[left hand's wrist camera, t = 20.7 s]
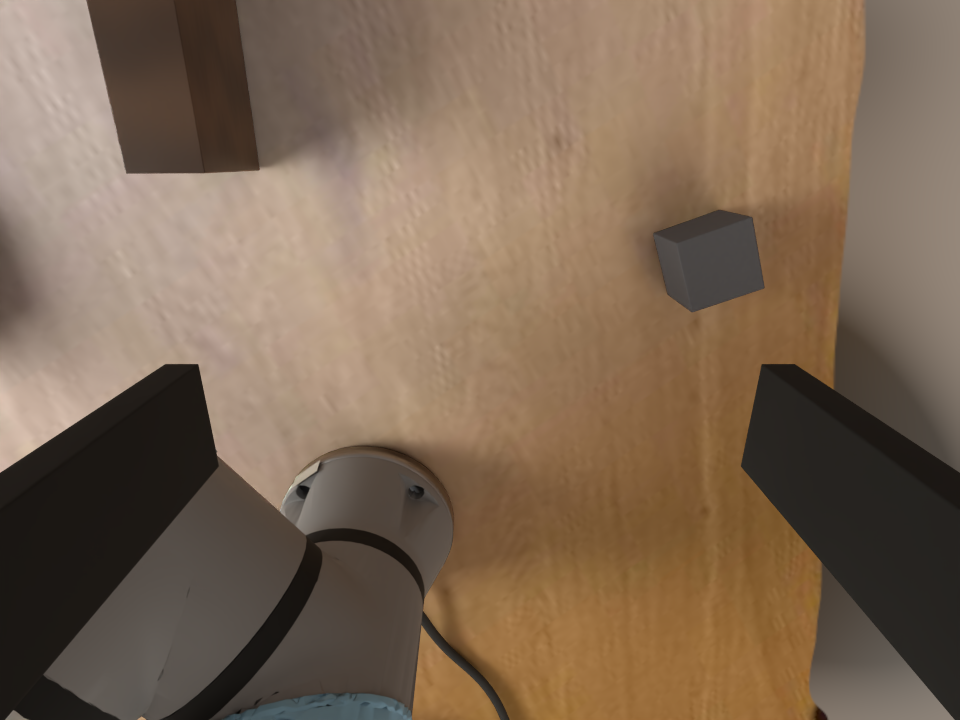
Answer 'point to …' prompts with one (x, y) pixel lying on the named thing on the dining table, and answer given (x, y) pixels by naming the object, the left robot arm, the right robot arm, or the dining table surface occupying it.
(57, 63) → the dining table surface
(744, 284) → the grey block
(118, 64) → the plank
